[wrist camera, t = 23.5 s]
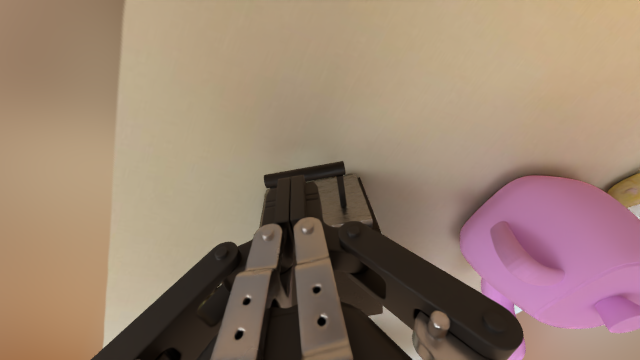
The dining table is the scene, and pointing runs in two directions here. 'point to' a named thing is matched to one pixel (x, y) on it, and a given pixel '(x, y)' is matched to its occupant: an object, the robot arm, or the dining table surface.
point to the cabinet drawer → (331, 193)
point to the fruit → (627, 191)
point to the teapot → (557, 254)
